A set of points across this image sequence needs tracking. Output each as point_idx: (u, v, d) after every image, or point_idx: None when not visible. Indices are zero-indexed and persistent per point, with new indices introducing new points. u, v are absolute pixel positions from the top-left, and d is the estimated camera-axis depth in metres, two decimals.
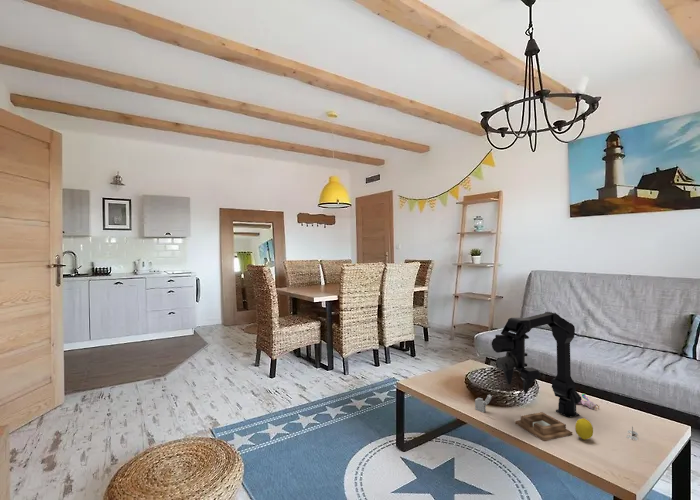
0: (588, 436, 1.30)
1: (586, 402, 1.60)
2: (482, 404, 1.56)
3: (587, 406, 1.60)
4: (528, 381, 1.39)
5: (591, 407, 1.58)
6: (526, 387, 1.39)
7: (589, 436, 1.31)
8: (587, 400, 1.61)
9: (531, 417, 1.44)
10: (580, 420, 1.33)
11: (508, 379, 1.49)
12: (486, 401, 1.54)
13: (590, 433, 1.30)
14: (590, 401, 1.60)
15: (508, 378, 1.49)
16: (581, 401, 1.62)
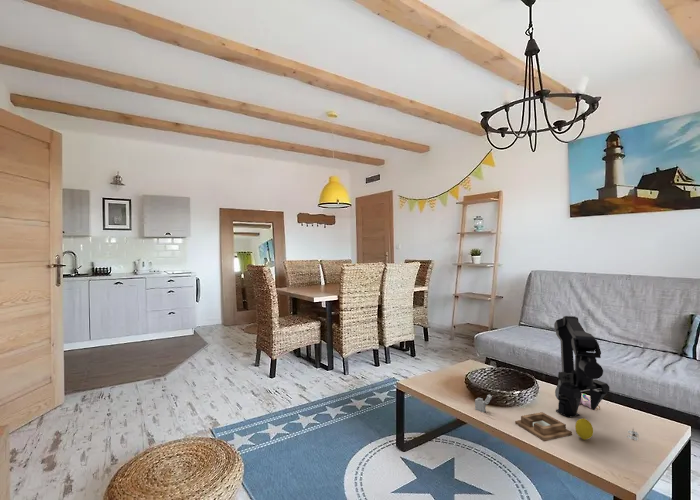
0: (588, 436, 1.30)
1: (587, 402, 1.60)
2: (482, 404, 1.56)
3: (588, 406, 1.60)
4: (573, 400, 1.31)
5: None
6: (572, 406, 1.32)
7: (589, 436, 1.31)
8: (588, 400, 1.60)
9: (531, 417, 1.44)
10: (580, 420, 1.33)
11: (591, 403, 1.35)
12: (486, 401, 1.54)
13: (590, 433, 1.30)
14: None
15: (592, 402, 1.35)
16: (582, 401, 1.62)
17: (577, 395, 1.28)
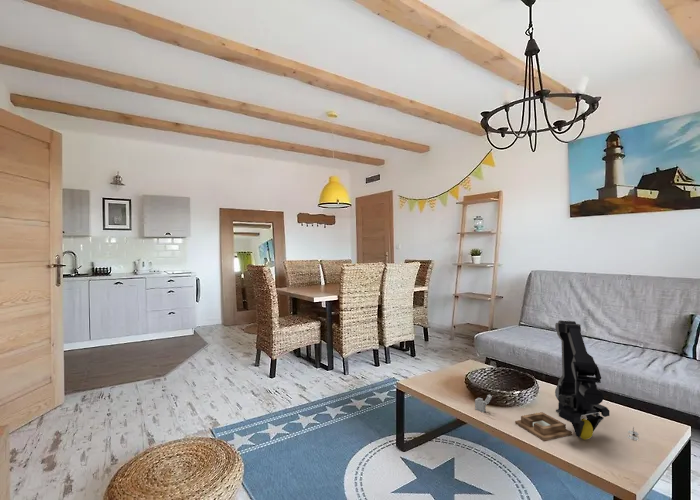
0: (588, 436, 1.30)
1: None
2: (482, 404, 1.56)
3: None
4: (576, 424, 1.31)
5: None
6: (575, 429, 1.32)
7: (589, 436, 1.31)
8: None
9: (531, 417, 1.44)
10: None
11: None
12: (486, 401, 1.54)
13: (590, 433, 1.30)
14: None
15: None
16: None
17: (577, 420, 1.28)
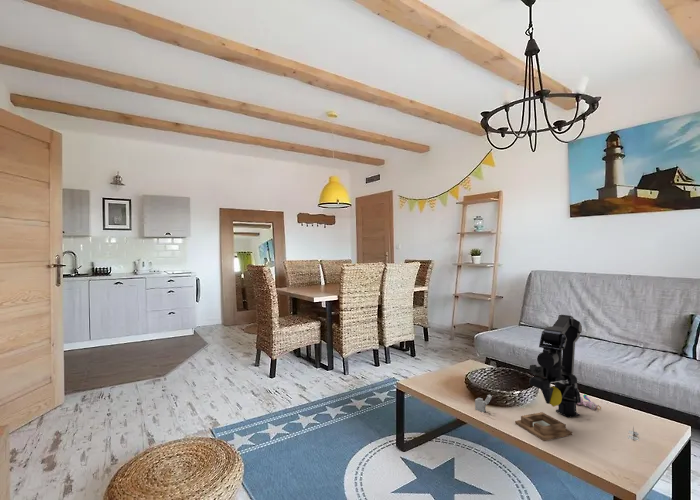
0: (557, 402, 1.36)
1: (588, 403, 1.60)
2: (482, 404, 1.56)
3: (589, 407, 1.59)
4: (546, 391, 1.37)
5: (593, 408, 1.57)
6: (545, 396, 1.38)
7: (558, 402, 1.36)
8: (589, 401, 1.60)
9: (531, 417, 1.44)
10: None
11: None
12: (486, 401, 1.54)
13: (559, 399, 1.36)
14: (592, 402, 1.59)
15: None
16: (583, 402, 1.61)
17: (546, 386, 1.33)
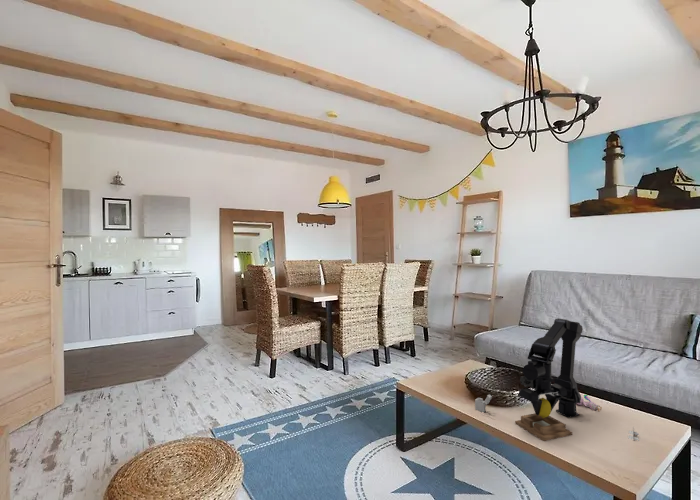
0: (546, 414, 1.38)
1: (588, 403, 1.59)
2: (482, 404, 1.56)
3: None
4: (535, 403, 1.39)
5: (593, 408, 1.57)
6: (534, 408, 1.40)
7: (547, 414, 1.38)
8: None
9: (531, 417, 1.44)
10: None
11: None
12: (486, 401, 1.54)
13: (548, 411, 1.38)
14: (592, 402, 1.59)
15: None
16: (583, 402, 1.61)
17: (535, 398, 1.36)
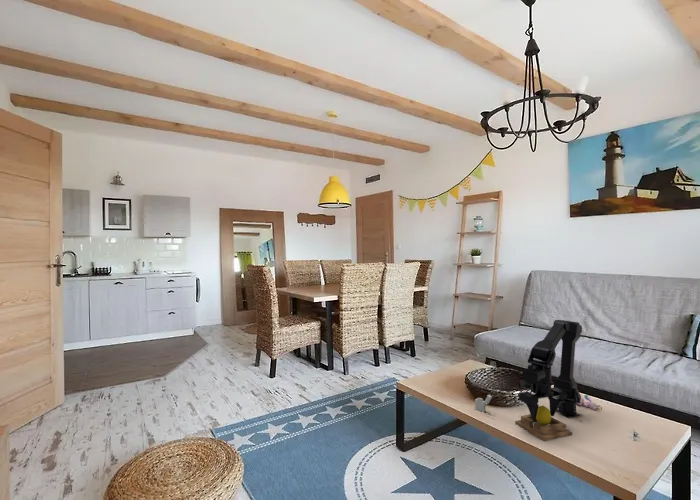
0: (546, 422, 1.38)
1: (589, 403, 1.59)
2: (482, 404, 1.56)
3: (590, 407, 1.59)
4: (532, 407, 1.39)
5: (594, 408, 1.57)
6: (531, 412, 1.40)
7: (547, 422, 1.38)
8: (590, 401, 1.59)
9: (531, 417, 1.44)
10: (539, 407, 1.41)
11: (550, 410, 1.43)
12: (486, 401, 1.54)
13: (548, 419, 1.38)
14: (593, 402, 1.59)
15: (551, 409, 1.43)
16: (584, 402, 1.61)
17: (535, 402, 1.36)
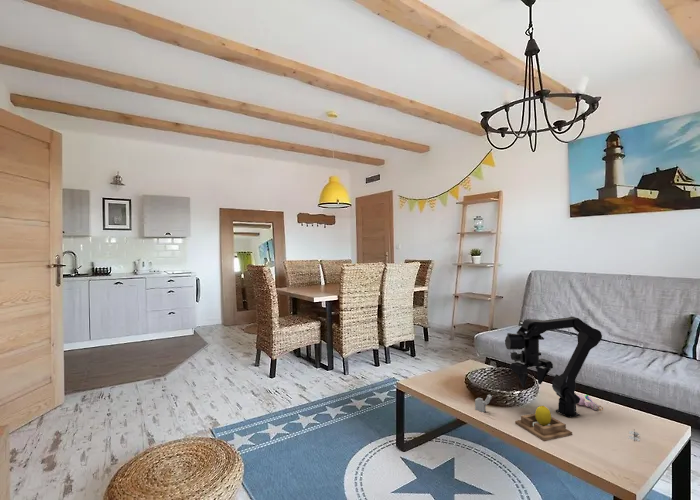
0: (546, 422, 1.38)
1: (589, 403, 1.59)
2: (482, 404, 1.56)
3: (591, 407, 1.59)
4: (521, 376, 1.52)
5: (595, 408, 1.57)
6: (521, 381, 1.53)
7: (547, 422, 1.38)
8: None
9: (531, 417, 1.44)
10: (539, 407, 1.41)
11: (538, 379, 1.56)
12: (486, 401, 1.54)
13: (548, 419, 1.38)
14: (593, 402, 1.59)
15: (538, 378, 1.56)
16: (584, 402, 1.61)
17: (524, 371, 1.49)
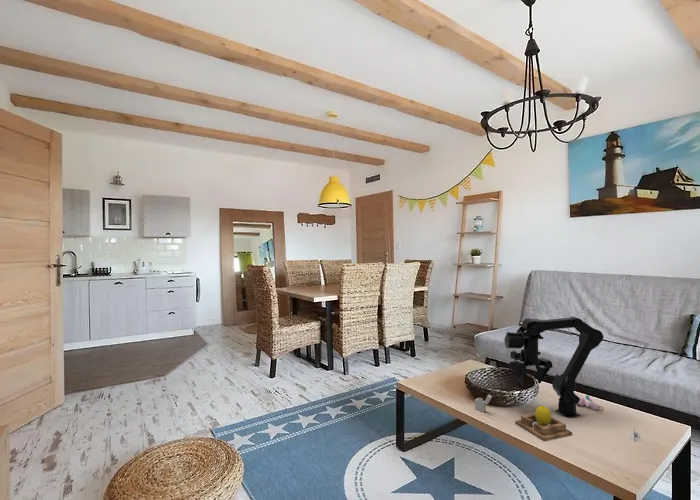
0: (546, 422, 1.38)
1: (590, 404, 1.59)
2: (482, 404, 1.56)
3: None
4: (520, 375, 1.53)
5: (596, 409, 1.56)
6: (519, 379, 1.54)
7: (547, 422, 1.38)
8: (591, 402, 1.59)
9: (531, 417, 1.44)
10: (539, 407, 1.41)
11: (538, 378, 1.57)
12: (486, 401, 1.54)
13: (548, 419, 1.38)
14: (594, 403, 1.58)
15: (538, 377, 1.57)
16: (585, 403, 1.60)
17: (523, 369, 1.50)
